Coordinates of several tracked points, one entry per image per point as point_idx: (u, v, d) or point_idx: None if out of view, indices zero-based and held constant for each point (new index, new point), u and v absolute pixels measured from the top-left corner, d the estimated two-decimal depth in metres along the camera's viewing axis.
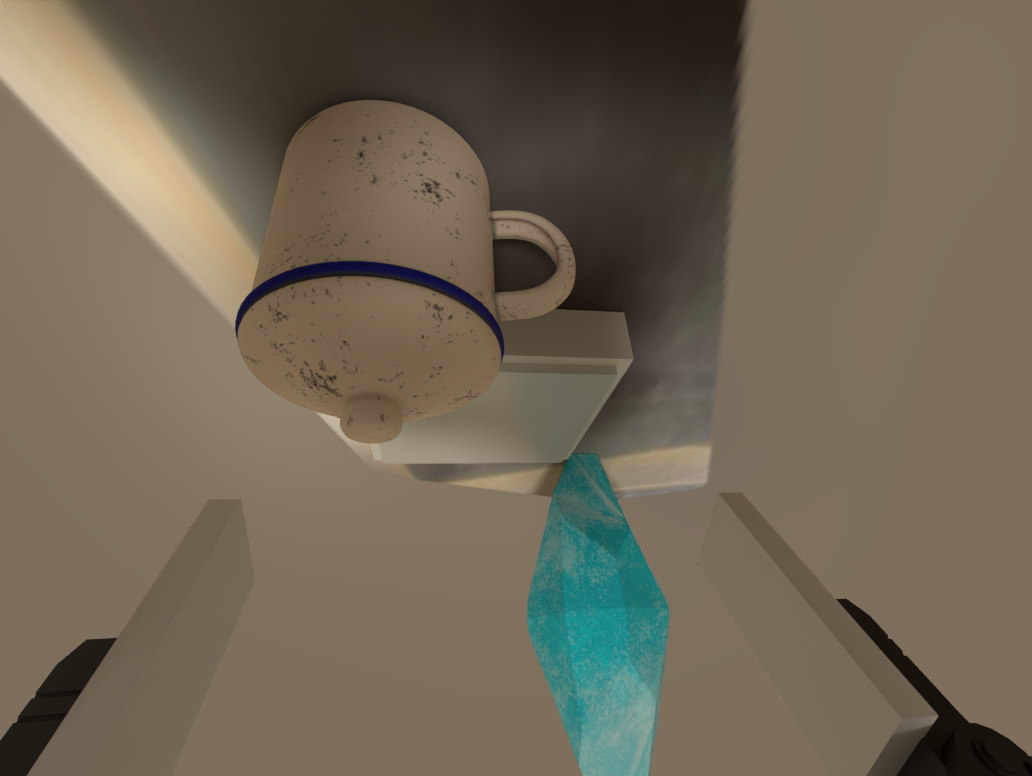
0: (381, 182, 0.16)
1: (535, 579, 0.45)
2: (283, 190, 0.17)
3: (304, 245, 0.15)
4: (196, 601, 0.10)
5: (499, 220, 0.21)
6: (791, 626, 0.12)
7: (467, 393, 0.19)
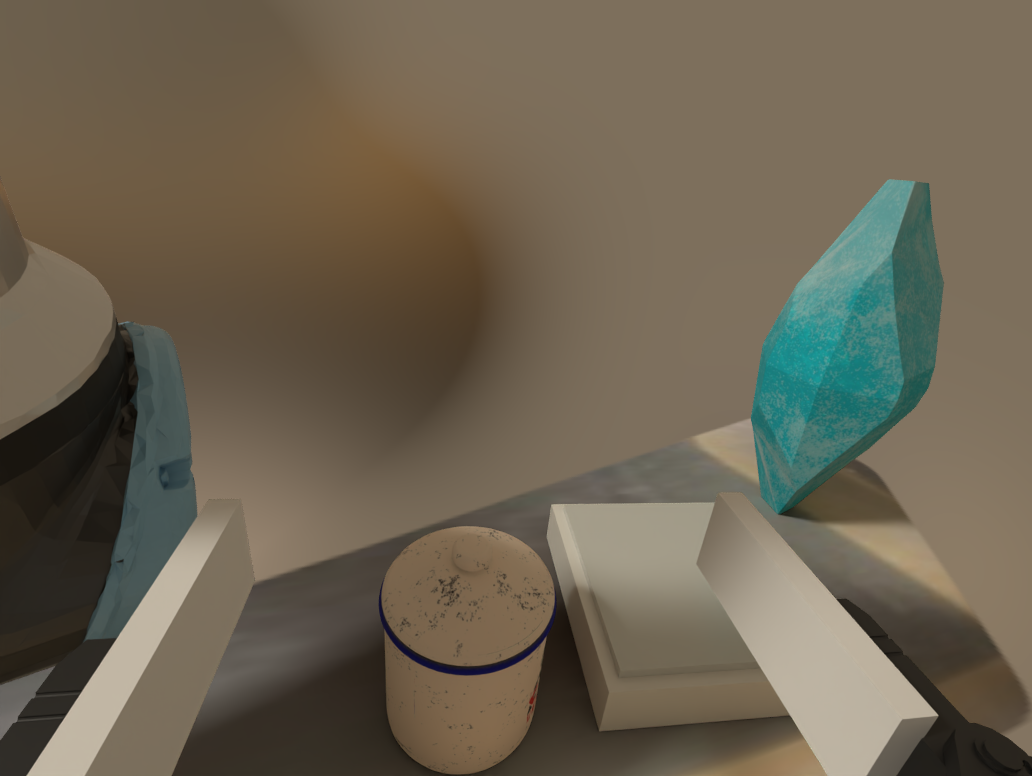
0: None
1: (861, 431, 0.40)
2: (410, 716, 0.25)
3: (390, 644, 0.25)
4: (196, 601, 0.10)
5: None
6: (791, 626, 0.12)
7: (485, 533, 0.29)
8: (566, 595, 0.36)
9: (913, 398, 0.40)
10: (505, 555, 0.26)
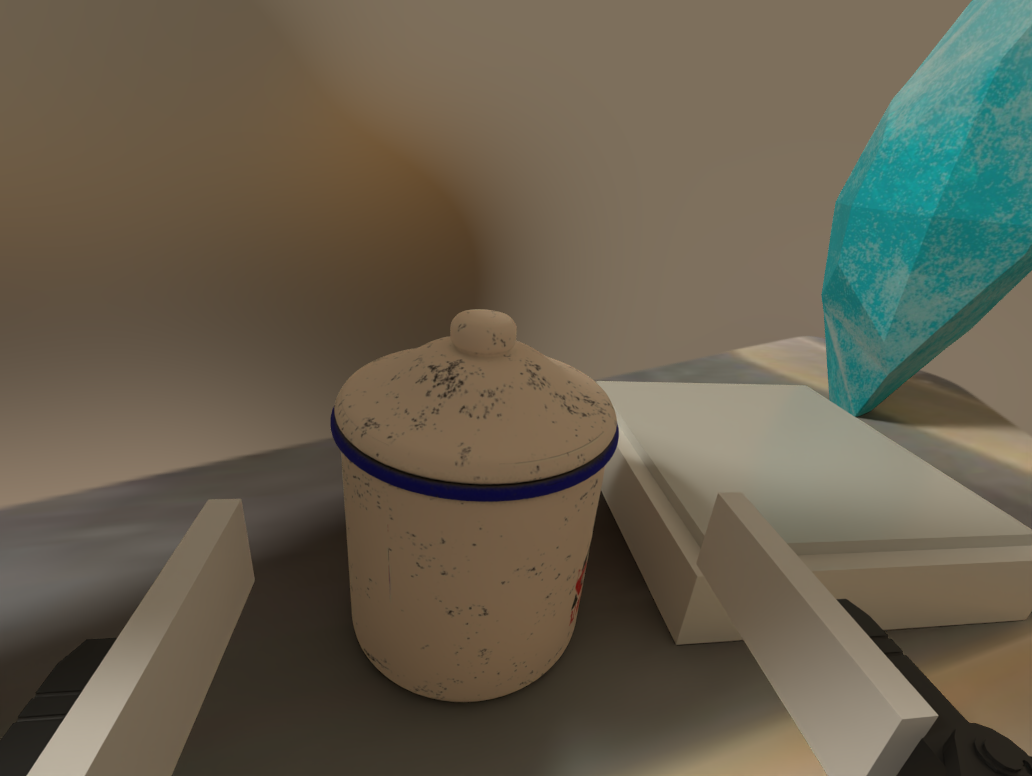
0: None
1: (986, 278, 0.30)
2: (384, 601, 0.15)
3: (348, 477, 0.15)
4: (196, 601, 0.10)
5: None
6: (791, 626, 0.12)
7: None
8: (607, 484, 0.27)
9: None
10: (536, 350, 0.16)
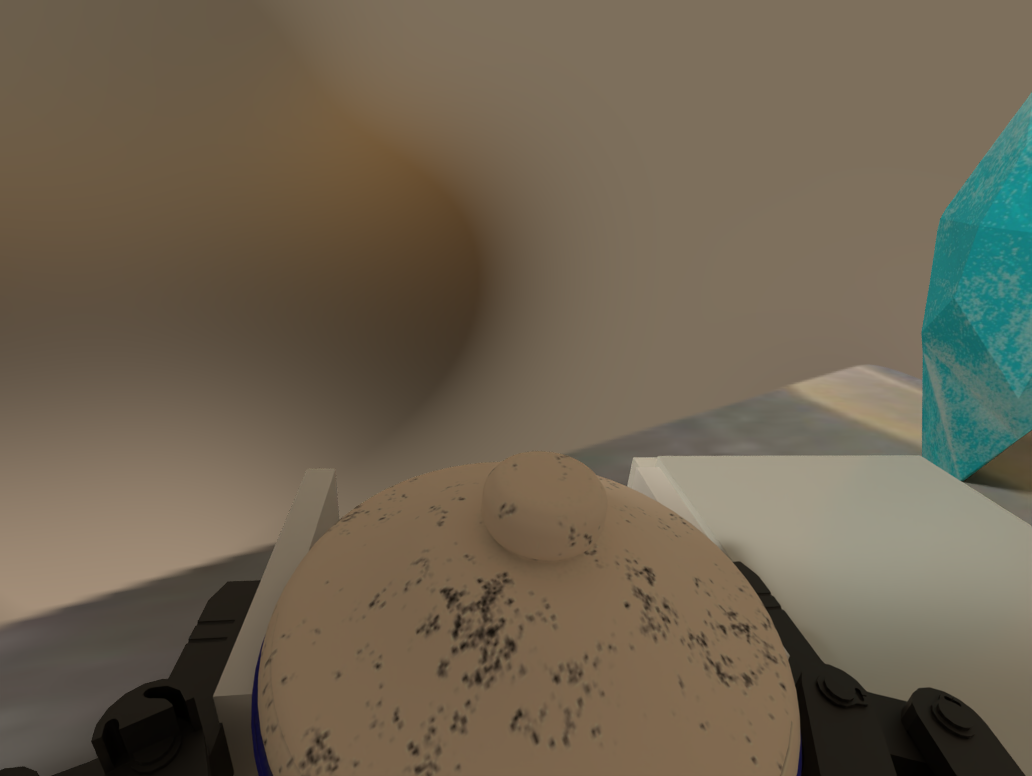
0: None
1: None
2: None
3: None
4: None
5: None
6: None
7: None
8: None
9: None
10: (630, 515, 0.09)
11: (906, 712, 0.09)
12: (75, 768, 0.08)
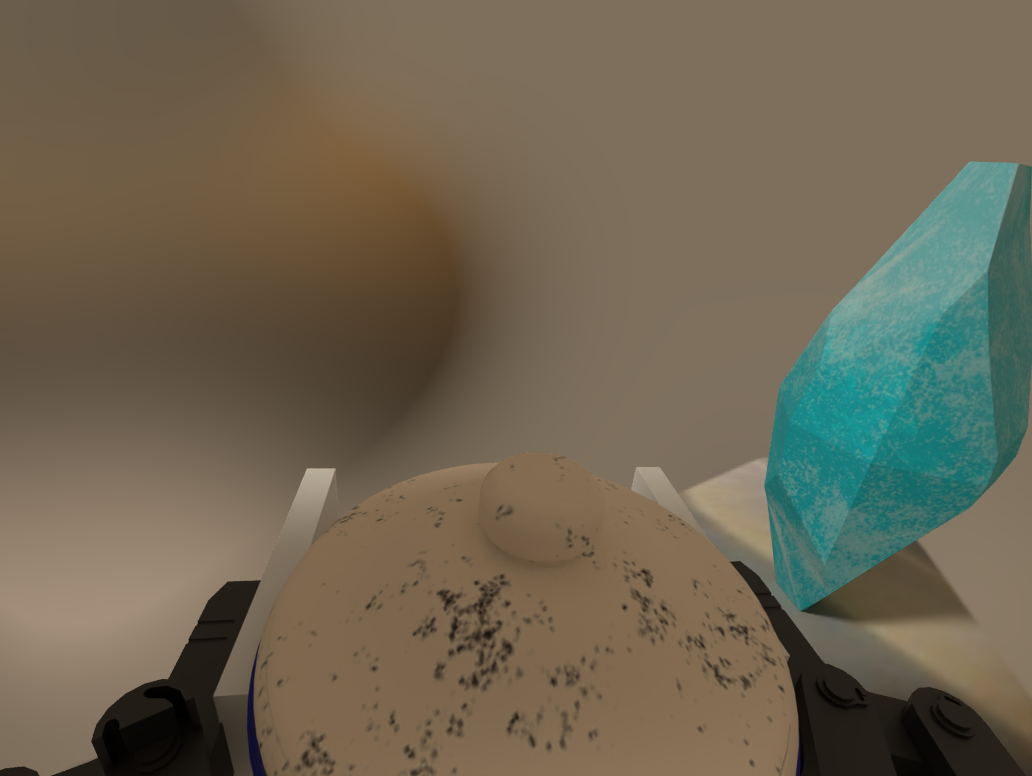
0: None
1: (929, 524, 0.28)
2: None
3: None
4: None
5: None
6: None
7: None
8: None
9: (999, 473, 0.28)
10: (628, 516, 0.09)
11: (905, 712, 0.09)
12: (75, 768, 0.08)
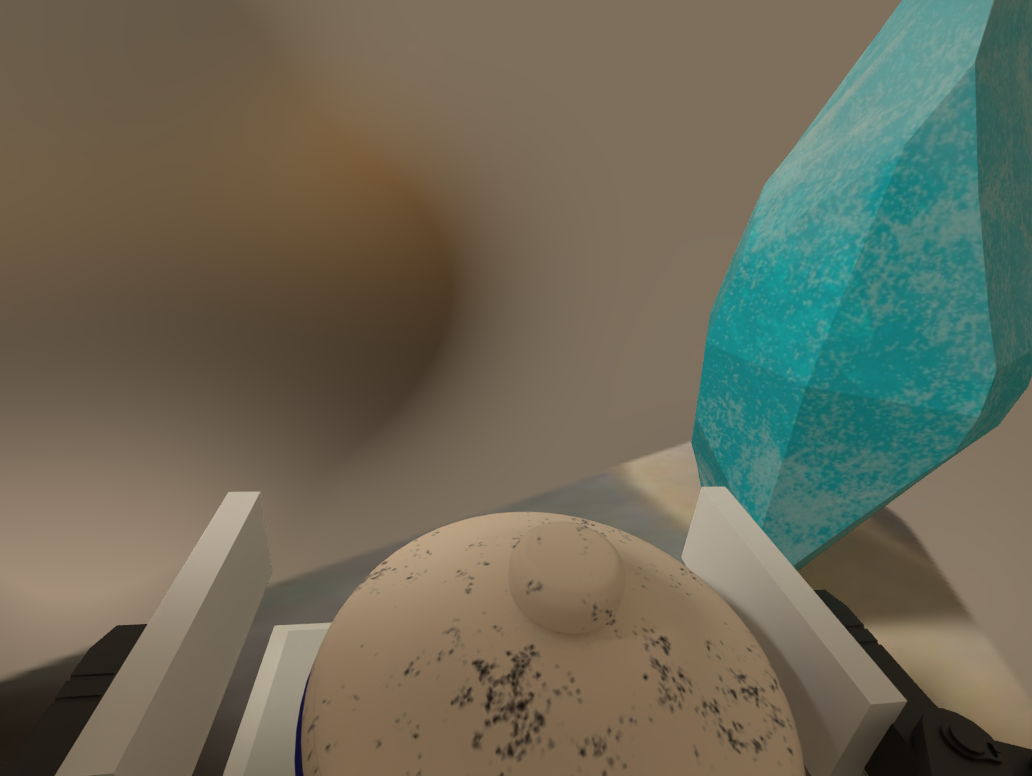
0: None
1: (897, 479, 0.19)
2: None
3: None
4: (221, 589, 0.11)
5: None
6: (769, 616, 0.12)
7: None
8: None
9: (1002, 408, 0.20)
10: (644, 579, 0.10)
11: None
12: None
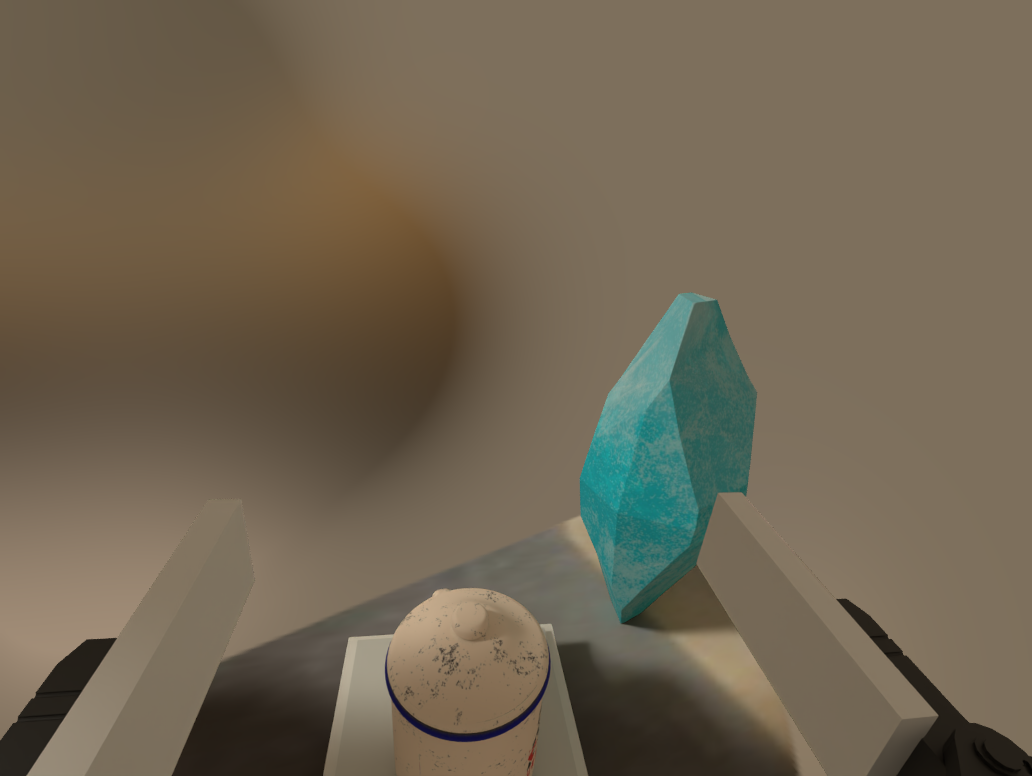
0: None
1: (668, 557, 0.37)
2: None
3: (395, 710, 0.26)
4: (196, 601, 0.10)
5: None
6: (791, 626, 0.12)
7: (483, 595, 0.31)
8: None
9: None
10: (501, 620, 0.28)
11: None
12: None
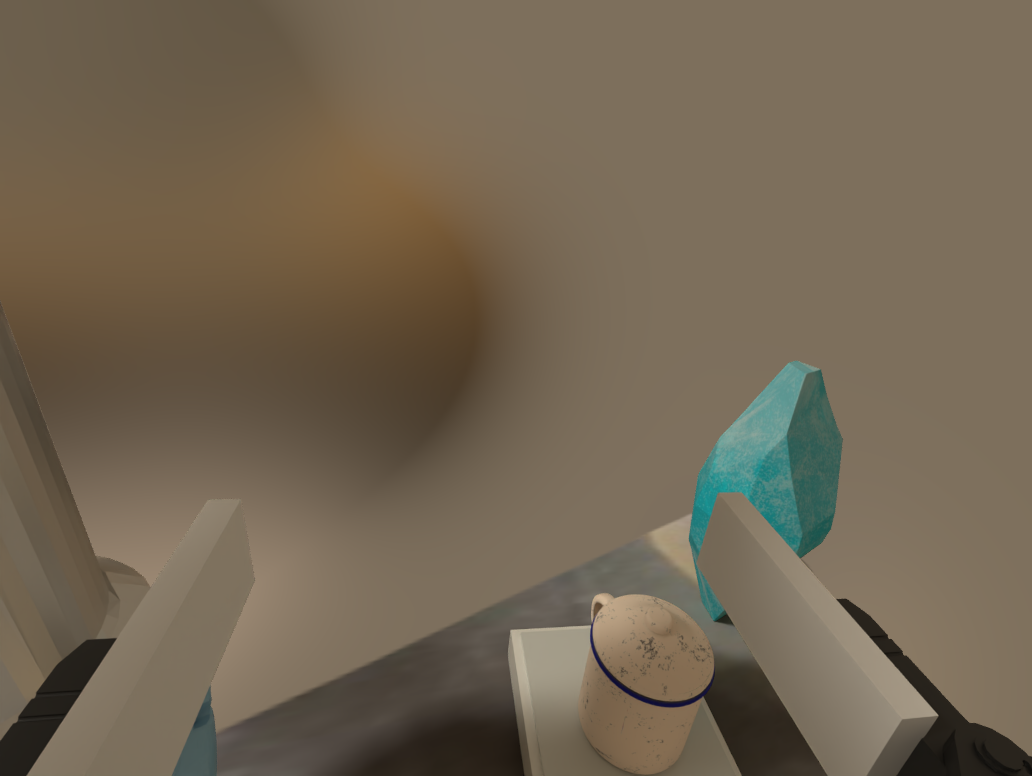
0: (587, 680, 0.39)
1: None
2: (617, 734, 0.36)
3: (605, 684, 0.36)
4: (196, 601, 0.10)
5: None
6: (791, 626, 0.12)
7: (651, 600, 0.40)
8: (518, 721, 0.43)
9: (816, 540, 0.47)
10: (676, 620, 0.38)
11: None
12: None
